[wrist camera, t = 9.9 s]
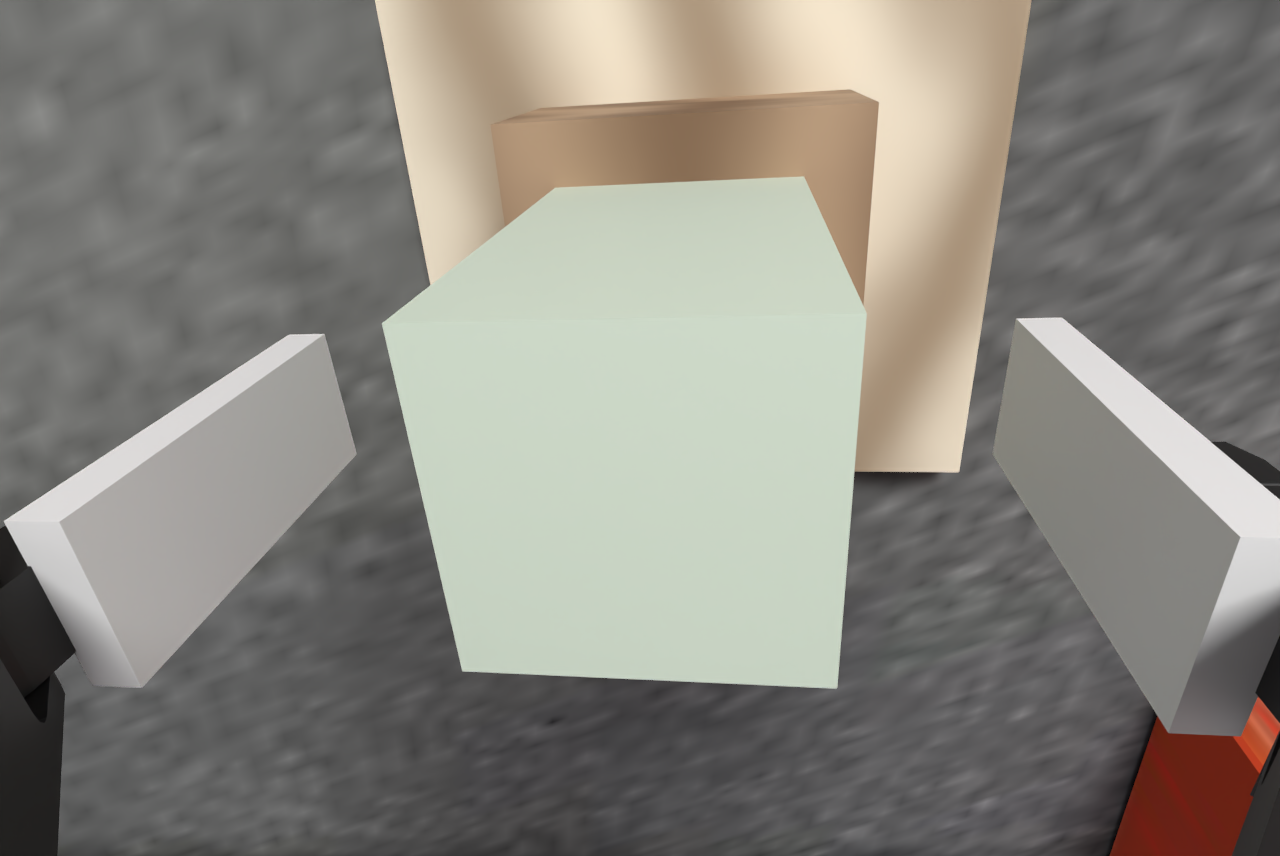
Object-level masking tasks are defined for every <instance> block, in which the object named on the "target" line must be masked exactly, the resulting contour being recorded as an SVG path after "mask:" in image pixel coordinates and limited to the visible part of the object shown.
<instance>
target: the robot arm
mask: <svg viewBox="0 0 1280 856" xmlns="http://www.w3.org/2000/svg"><path fill="white" fill-rule="evenodd" d="M356 454H357V453H356V450H355V446H354V442H353V438H352V435H351V431H350V427H349V424H348V420H347V416H346V412H345V409H344V405H343V401H342V397H341V394H340V390H339V386H338V383H337V379H336V375H335V371H334V368H333V364H332V360H331V356H330V353H329V349H328V345H327V342H326V338H325V334H299V335H288V336H286V337H285V338H283V339H282V340H280V341H278V342H277V343H275V344H274V345H272V346H271V347H269V348H268V349H266V350H265V351H263V352H262V353H260V354H259V355H257V356H256V357H254V358H253V359H251V360H249V361H248V362H246V363H245V364H243V365H242V366H240V367H239V368H237V369H236V370H234V371H233V372H231V373H230V374H228V375H227V376H225V377H223V378H222V379H220V380H219V381H217V382H216V383H214V384H213V385H211V386H210V387H208V388H207V389H205V390H204V391H202V392H201V393H199V394H197V395H196V396H194V397H193V398H191V399H190V400H188V401H187V402H185V403H184V404H182V405H181V406H179V407H178V408H176V409H175V410H173V411H171V412H170V413H168V414H167V415H165V416H164V417H162V418H161V419H159V420H158V421H156V422H155V423H153V424H152V425H150V426H149V427H147V428H145V429H144V430H142V431H141V432H139V433H138V434H136V435H135V436H133V437H132V438H130V439H129V440H127V441H126V442H124V443H123V444H121V445H120V446H118V447H116V448H115V449H113V450H112V451H110V452H109V453H107V454H106V455H104V456H103V457H101V458H100V459H98V460H97V461H95V462H94V463H92V464H90V465H89V466H87V467H86V468H84V469H83V470H81V471H80V472H78V473H77V474H75V475H74V476H72V477H71V478H69V479H68V480H66V481H64V482H63V483H61V484H60V485H58V486H57V487H55V488H54V489H52V490H51V491H49V492H48V493H46V494H45V495H43V496H42V497H40V498H38V499H37V500H35V501H34V502H32V503H31V504H29V505H28V506H26V507H25V508H23V509H22V510H20V511H19V512H17V513H16V514H14V515H12V516H11V517H9V518H8V519H6V520H5V521H4V523H5V526H4V527H2V528H1V529H0V856H57V850H58V828H59V807H60V786H61V764H62V743H63V722H64V700H65V693H64V691H63V688H62V686H61V684H60V682H59V680H58V678H57V677H56V675H55V673H54V671H55V670H56V669H58V668H59V667H60V666H61V665H62V664H63V663H64V662H65V661H66V660H67V659H68V658H69V657H71V656H72V655H73V654H74V653H75V655H76V656H77V658H78V660H79V662H80V664H81V666H82V668H83V669H84V671H85V673H86V675H87V677H88V679H89V681H90V682H91V684H92V686H110V687H133V688H142V687H143V686H144V685H145V684H146V683H147V682H148V681H149V680H150V679H151V677H152V676H153V675H154V674H155V673H156V672H157V671H158V670H159V669H160V668H161V667H162V666H163V664H164V663H165V662H166V661H167V660H168V659H169V658H170V657H171V656H172V655H173V654H174V652H175V651H176V650H177V649H178V648H179V647H180V646H181V645H182V644H183V643H184V642H185V640H186V639H187V638H188V637H189V636H190V635H191V634H192V633H193V632H194V631H195V630H196V629H197V627H198V626H199V625H200V624H201V623H202V622H203V621H204V620H205V619H206V618H207V617H208V615H209V614H210V613H211V612H212V611H213V610H214V609H215V608H216V607H217V606H218V605H219V603H220V602H221V601H222V600H223V599H224V598H225V597H226V596H227V595H228V594H229V593H230V592H231V590H232V589H233V588H234V587H235V586H236V585H237V584H238V583H239V582H240V581H241V580H242V578H243V577H244V576H245V575H246V574H247V573H248V572H249V571H250V570H251V569H252V568H253V566H254V565H255V564H256V563H257V562H258V561H259V560H260V559H261V558H262V557H263V556H264V555H265V553H266V552H267V551H268V550H269V549H270V548H271V547H272V546H273V545H274V544H275V543H276V541H277V540H278V539H279V538H280V537H281V536H282V535H283V534H284V533H285V532H286V531H287V529H288V528H289V527H290V526H291V525H292V524H293V523H294V522H295V521H296V520H297V519H298V517H299V516H300V515H301V514H302V513H303V512H304V511H305V510H306V509H307V508H308V507H309V506H310V504H311V503H312V502H313V501H314V500H315V499H316V498H317V497H318V496H319V495H320V494H321V492H322V491H323V490H324V489H325V488H326V487H327V486H328V485H329V484H330V483H331V482H332V480H333V479H334V478H335V477H336V476H337V475H338V474H339V473H340V472H341V471H342V470H343V469H344V467H345V466H346V465H347V464H348V463H349V462H350V461H351V460H352V459H353V458H354V457H355V455H356ZM993 456H994V457H995V459H996V460H997V462H998V464H999V465H1000V467H1001V468H1002V470H1003V472H1004V473H1005V475H1006V476H1007V478H1008V479H1009V481H1010V483H1011V484H1012V486H1013V487H1014V489H1015V491H1016V492H1017V494H1018V495H1019V497H1020V498H1021V500H1022V502H1023V503H1024V505H1025V506H1026V508H1027V510H1028V511H1029V513H1030V514H1031V516H1032V518H1033V519H1034V521H1035V522H1036V524H1037V525H1038V527H1039V529H1040V530H1041V532H1042V533H1043V535H1044V537H1045V538H1046V540H1047V541H1048V543H1049V544H1050V546H1051V548H1052V549H1053V551H1054V552H1055V554H1056V556H1057V557H1058V559H1059V560H1060V562H1061V564H1062V565H1063V567H1064V568H1065V570H1066V571H1067V573H1068V575H1069V576H1070V578H1071V579H1072V581H1073V583H1074V584H1075V586H1076V587H1077V589H1078V591H1079V592H1080V594H1081V595H1082V597H1083V598H1084V600H1085V602H1086V603H1087V605H1088V606H1089V608H1090V610H1091V611H1092V613H1093V614H1094V616H1095V617H1096V619H1097V621H1098V622H1099V624H1100V625H1101V627H1102V629H1103V630H1104V632H1105V633H1106V635H1107V637H1108V638H1109V640H1110V641H1111V643H1112V644H1113V646H1114V648H1115V649H1116V651H1117V652H1118V654H1119V656H1120V657H1121V659H1122V660H1123V662H1124V663H1125V665H1126V667H1127V668H1128V670H1129V671H1130V673H1131V675H1132V676H1133V678H1134V679H1135V681H1136V683H1137V684H1138V686H1139V687H1140V689H1141V690H1142V692H1143V694H1144V695H1145V697H1146V698H1147V700H1148V702H1149V703H1150V705H1151V706H1152V708H1153V710H1154V711H1155V713H1156V714H1157V716H1158V717H1159V719H1160V721H1161V722H1162V724H1163V725H1164V727H1165V729H1166V730H1167V732H1168V733H1175V734H1198V735H1220V736H1241V735H1242V732H1243V730H1244V728H1245V726H1246V723H1247V721H1248V719H1249V716H1250V714H1251V712H1252V709H1253V707H1254V705H1255V702H1256V700H1257V698H1258V697H1259V698H1260V699H1261V701H1262V702H1263V703H1264V704H1265V706H1266V707H1267V708H1268V709H1269V711H1270V712H1271V713H1272V714H1273V716H1274V717H1275V718H1276V719H1277V720H1278V722H1279V723H1280V471H1278V470H1277V469H1276V468H1274V467H1273V466H1272V465H1271V464H1269V463H1268V462H1267V461H1266V460H1264V459H1261V458H1259V457H1257V456H1255V455H1253V454H1251V453H1248V452H1246V451H1244V450H1242V449H1240V448H1238V447H1235V446H1233V445H1231V444H1229V443H1227V442H1210V441H1209V440H1208V439H1207V438H1205V437H1204V436H1203V435H1202V434H1201V433H1199V432H1198V431H1197V430H1196V429H1195V428H1193V427H1192V426H1191V425H1190V424H1189V423H1187V422H1186V421H1185V420H1184V419H1183V418H1181V417H1180V416H1179V415H1178V414H1177V413H1175V412H1174V411H1173V410H1172V409H1171V408H1169V407H1168V406H1167V405H1166V404H1165V403H1163V402H1162V401H1161V400H1160V399H1159V398H1157V397H1156V396H1155V395H1154V394H1153V393H1152V392H1150V391H1149V390H1148V389H1147V388H1146V387H1144V386H1143V385H1142V384H1141V383H1140V382H1138V381H1137V380H1136V379H1135V378H1134V377H1132V376H1131V375H1130V374H1129V373H1128V372H1126V371H1125V370H1124V369H1123V368H1122V367H1120V366H1119V365H1118V364H1117V363H1116V362H1114V361H1113V360H1112V359H1111V358H1110V357H1108V356H1107V355H1106V354H1105V353H1104V352H1102V351H1101V350H1100V349H1099V348H1098V347H1096V346H1095V345H1094V344H1093V343H1092V342H1090V341H1089V340H1088V339H1087V338H1086V337H1084V336H1083V335H1082V334H1081V333H1080V332H1078V331H1077V330H1076V329H1075V328H1074V327H1072V326H1071V325H1070V324H1069V323H1068V322H1066V321H1065V320H1064V319H1063V318H1024V319H1016V322H1015V328H1014V334H1013V339H1012V345H1011V351H1010V357H1009V362H1008V368H1007V374H1006V380H1005V385H1004V391H1003V397H1002V403H1001V408H1000V414H999V420H998V426H997V431H996V437H995V443H994V448H993ZM1250 795H1251V796H1253V799H1252V802H1251V805H1250V807H1249V810H1248V813H1247V815H1246V818H1245V821H1244V824H1243V826H1242V829H1241V832H1240V834H1239V837H1238V840H1237V843H1236V845H1235V848H1234V851H1233V853H1232V856H1280V731H1279V733H1278V735H1277V737H1276V739H1275V742H1274V744H1273V746H1272V748H1271V750H1270V752H1269V755H1268V757H1267V759H1266V761H1265V763H1264V765H1263V767H1262V770H1261V772H1260V774H1259V776H1258V778H1257V780H1256V783H1255V785H1254V787H1253V789H1252V791H1251V793H1250Z"/></svg>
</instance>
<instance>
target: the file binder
mask: <svg viewBox="0 0 1280 856" xmlns="http://www.w3.org/2000/svg"><path fill="white" fill-rule="evenodd" d="M1279 731H1280V723H1279V722H1278V720H1277V719H1276V718H1275V717H1274V716H1273V714H1272V713H1271V712H1270V711H1269V709H1268V708H1267V707H1266V706H1265V704H1264V703H1263V702H1262V701H1261V699H1260V698H1259V697H1258V698H1257V700H1256V702H1255V705H1254V707H1253V709H1252V712H1251V714H1250V716H1249V719H1248V721H1247V723H1246V726H1245V728H1244V730H1243V732H1242V735H1241V736H1220V735H1198V734H1175V733H1168V732H1167V730H1166V729H1165V727H1164V725H1163V724H1162V722H1161V721H1160V719H1159V717H1158V716H1157V719H1156V722H1155V725H1154V728H1153V731H1152V733H1151V736H1150V739H1149V742H1148V745H1147V748H1146V751H1145V754H1144V757H1143V760H1142V763H1141V766H1140V769H1139V771H1138V774H1137V777H1136V780H1135V783H1134V786H1133V789H1132V792H1131V795H1130V798H1129V801H1128V804H1127V806H1126V809H1125V812H1124V815H1123V818H1122V821H1121V824H1120V827H1119V830H1118V833H1117V836H1116V839H1115V842H1114V844H1113V847H1112V850H1111V853H1110V856H1232V853H1233V851H1234V848H1235V845H1236V843H1237V840H1238V837H1239V834H1240V832H1241V829H1242V826H1243V824H1244V821H1245V818H1246V815H1247V813H1248V810H1249V807H1250V805H1251V802H1252V799H1253V796H1251V795H1250V793H1251V791H1252V789H1253V787H1254V785H1255V783H1256V780H1257V778H1258V776H1259V774H1260V772H1261V770H1262V767H1263V765H1264V763H1265V761H1266V759H1267V757H1268V755H1269V752H1270V750H1271V748H1272V746H1273V744H1274V742H1275V739H1276V737H1277V735H1278V733H1279Z"/></svg>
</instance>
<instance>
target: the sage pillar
mask: <svg viewBox="0 0 1280 856" xmlns="http://www.w3.org/2000/svg"><path fill="white" fill-rule="evenodd" d="M866 318H867V313H866V310H865V308H864V306H863V304H862V302H861V300H860V297H859V295H858V293H857V291H856V289H855V286H854V284H853V282H852V280H851V278H850V276H849V273H848V271H847V269H846V267H845V265H844V262H843V260H842V258H841V256H840V254H839V252H838V249H837V247H836V245H835V243H834V241H833V238H832V236H831V234H830V232H829V230H828V228H827V225H826V223H825V221H824V219H823V217H822V214H821V212H820V210H819V208H818V206H817V204H816V201H815V199H814V197H813V195H812V193H811V190H810V188H809V186H808V184H807V182H806V180H805V177H804V176H801V177H779V178H757V179H735V180H713V181H691V182H669V183H647V184H625V185H603V186H581V187H559V188H554V189H553V190H552V191H550V192H549V193H548V194H547V195H545V196H544V197H543V198H541V199H540V200H539V201H538V202H536V203H535V204H534V205H532V206H531V207H530V208H529V209H527V210H526V211H525V212H524V213H522V214H521V215H520V216H518V217H517V218H516V219H515V220H513V221H512V222H511V223H510V224H508V225H507V226H506V227H504V228H503V229H502V230H501V231H499V232H498V233H497V234H495V235H494V236H493V237H492V238H490V239H489V240H488V241H487V242H485V243H484V244H483V245H481V246H480V247H479V248H478V249H476V250H475V251H474V252H473V253H471V254H470V255H469V256H467V257H466V258H465V259H464V260H462V261H461V262H460V263H458V264H457V265H456V266H455V267H453V268H452V269H451V270H450V271H448V272H447V273H446V274H444V275H443V276H442V277H441V278H439V279H438V280H437V281H436V282H434V283H433V284H432V285H430V286H429V287H428V288H427V289H425V290H424V291H423V292H421V293H420V294H419V295H418V296H416V297H415V298H414V299H413V300H411V301H410V302H409V303H407V304H406V305H405V306H404V307H402V308H401V309H400V310H399V311H397V312H396V313H395V314H393V315H392V316H391V317H390V318H388V319H387V320H386V321H384V322H383V323H382V326H383V330H384V334H385V339H386V343H387V347H388V352H389V356H390V360H391V365H392V369H393V373H394V378H395V382H396V386H397V391H398V395H399V399H400V404H401V408H402V412H403V417H404V421H405V425H406V430H407V434H408V438H409V443H410V447H411V451H412V456H413V460H414V464H415V469H416V473H417V477H418V482H419V486H420V490H421V495H422V499H423V503H424V508H425V512H426V516H427V520H428V525H429V529H430V533H431V538H432V542H433V546H434V551H435V555H436V559H437V564H438V568H439V572H440V577H441V581H442V585H443V590H444V594H445V598H446V603H447V607H448V611H449V616H450V620H451V624H452V629H453V633H454V637H455V642H456V646H457V650H458V655H459V659H460V663H461V668H462V671H467V672H489V673H511V674H532V675H554V676H576V677H597V678H619V679H640V680H662V681H684V682H705V683H727V684H748V685H770V686H792V687H813V688H835V689H837V684H838V672H839V659H840V647H841V634H842V621H843V609H844V596H845V583H846V571H847V558H848V546H849V533H850V520H851V508H852V495H853V483H854V470H855V457H856V445H857V432H858V419H859V407H860V394H861V382H862V369H863V356H864V344H865V331H866Z"/></svg>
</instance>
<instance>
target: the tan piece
mask: <svg viewBox="0 0 1280 856" xmlns="http://www.w3.org/2000/svg"><path fill="white" fill-rule="evenodd" d="M375 3H376V8H377V13H378V18H379V23H380V29H381V34H382V39H383V44H384V49H385V54H386V59H387V64H388V70H389V75H390V80H391V85H392V90H393V95H394V100H395V106H396V111H397V116H398V121H399V126H400V131H401V136H402V141H403V147H404V152H405V157H406V162H407V167H408V172H409V177H410V182H411V188H412V193H413V198H414V203H415V208H416V213H417V218H418V223H419V229H420V234H421V239H422V244H423V249H424V254H425V259H426V264H427V270H428V275H429V280H430V285H432V284H433V283H434V282H436V281H437V280H438V279H439V278H441V277H442V276H443V275H444V274H446V273H447V272H448V271H450V270H451V269H452V268H453V267H455V266H456V265H457V264H458V263H460V262H461V261H462V260H464V259H465V258H466V257H467V256H469V255H470V254H471V253H473V252H474V251H475V250H476V249H478V248H479V247H480V246H481V245H483V244H484V243H485V242H487V241H488V240H489V239H490V238H492V237H493V236H494V235H495V234H497V233H498V232H499V231H501V230H502V229H503V228H504V227H506V226H507V225H508V224H510V223H511V222H512V221H513V220H515V219H516V218H517V217H518V216H520V215H521V214H522V213H524V212H525V211H526V210H527V209H529V208H530V207H531V206H532V205H534V204H535V203H536V202H538V201H539V200H540V199H541V198H543V197H544V196H545V195H547V194H548V193H549V192H550V191H552V190H553V189H554V188H559V187H581V186H603V185H625V184H647V183H669V182H691V181H713V180H735V179H757V178H779V177H801V176H804V177H805V180H806V182H807V184H808V186H809V188H810V190H811V193H812V195H813V197H814V199H815V201H816V204H817V206H818V208H819V210H820V212H821V214H822V217H823V219H824V221H825V223H826V225H827V228H828V230H829V232H830V234H831V236H832V238H833V241H834V243H835V245H836V247H837V249H838V252H839V254H840V256H841V258H842V260H843V262H844V265H845V267H846V269H847V271H848V273H849V276H850V278H851V280H852V282H853V284H854V286H855V289H856V291H857V293H858V295H859V297H860V300H861V302H862V304H863V306H864V308H865V310H866V313H867V318H866V331H865V344H864V356H863V369H862V382H861V394H860V407H859V419H858V432H857V445H856V457H855V470H854V472H959V469H960V463H961V456H962V450H963V443H964V437H965V430H966V424H967V417H968V411H969V404H970V398H971V391H972V385H973V378H974V372H975V365H976V359H977V352H978V345H979V339H980V332H981V326H982V319H983V313H984V306H985V300H986V293H987V287H988V280H989V274H990V267H991V261H992V254H993V248H994V241H995V235H996V228H997V222H998V215H999V209H1000V202H1001V196H1002V189H1003V183H1004V176H1005V170H1006V163H1007V157H1008V150H1009V143H1010V137H1011V130H1012V124H1013V117H1014V111H1015V104H1016V98H1017V91H1018V85H1019V78H1020V72H1021V65H1022V59H1023V52H1024V46H1025V39H1026V33H1027V26H1028V20H1029V13H1030V7H1031V0H375Z"/></svg>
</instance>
